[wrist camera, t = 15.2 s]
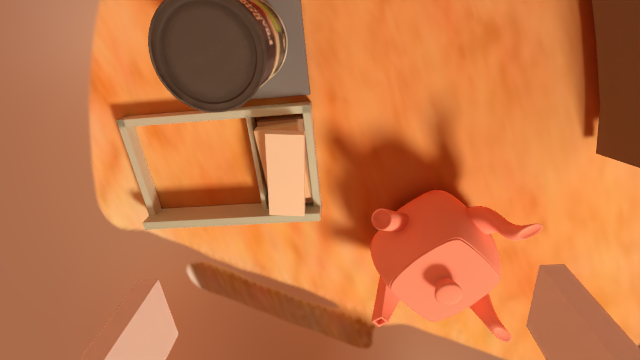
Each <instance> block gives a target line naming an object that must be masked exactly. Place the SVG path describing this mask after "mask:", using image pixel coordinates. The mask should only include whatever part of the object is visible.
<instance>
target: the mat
mask: <svg viewBox="0 0 640 360" xmlns="http://www.w3.org/2000/svg"><path fill="white" fill-rule="evenodd" d="M263 1H265V2H266V3H268V4H269V5H270V6H271V7H272V8H273V9H274V10H275V11H276V12H277V14H278V15H279V16H280V18H281V20H282V22H283V24H284V26H285V29H286V33H287V38H288V49H287V55H286V58H285V61H284V63H283V65H282V67H281V68H280V70H279V71H278V72H277V73H276V74H275V75H274V76H273V77H272V78H270V79H269V80H268V81H267V82H266V83H265V84H264V85H262V86H261V87H260V88H259V89H258V91H257V92H256V93H255V95H254V96H253V97H252V98H251V99H264V98H276V97H288V96H300V95H310V87H309V77H308V67H307V58H306V48H305V38H304V28H303V19H302V9H301V0H263ZM251 99H250V100H251Z"/></svg>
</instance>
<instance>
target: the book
mask: <svg viewBox="0 0 640 360" xmlns="http://www.w3.org/2000/svg"><path fill="white" fill-rule="evenodd" d="M592 7H593V16H594V26H595V36H596V45H597V62H598V80H599V98H600V113H599V125H598V137H597V149H596V153H597V154H600V155H603V156H606V157H609V158H612V159H615V160H618V161H621V162H624V163H627V164H630V165H633V166H636V167H639V168H640V0H592Z"/></svg>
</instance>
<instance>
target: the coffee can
mask: <svg viewBox="0 0 640 360" xmlns="http://www.w3.org/2000/svg"><path fill="white" fill-rule="evenodd" d="M148 46H149V53H150V58H151V61H152V64H153V67H154V69H155V71H156V73H157V75H158V77H159V79H160V80H161V82H162V83H163V85H164V86H165V87H166V88H167V90H168V91H170V93H171V94H172V95H173V96H175V97H176V98H177V99H178V100H180V101H181V102H183V103H184V104H186V105H188V106H190V107H192V108H194V109H197V110H201V111H204V112H213V113H218V112H226V111H230V110H233V109H236V108H238V107H240V106H242V105H243V104H245V103H246V102H248V101H249V100H250V99H251V98H252V97H253V96H254V95H255V93H256V92H257V91H258V89H259V88H260V87H261V86H262V85H264V84H265V83H266V82H267V81H268V80H269V79H270V78H272V77H273V76H274V75H275V74H276V73H277V72H278V71H279V70H280V68H281V67H282V65H283V63H284V61H285V58H286V55H287V49H288V38H287V33H286V29H285V26H284V24H283V22H282V20H281V18H280V16H279V15H278V14H277V12H276V11H275V10H274V9H273V8H272V7H271V6H270V5H269V4H268V3H266V2H265V1H263V0H164V1H163V2H162V3H161V4H160V6H159V7H158V8H157V10H156V11H155V13H154V16H153V18H152V20H151V24H150V28H149V35H148Z"/></svg>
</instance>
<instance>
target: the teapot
mask: <svg viewBox="0 0 640 360" xmlns="http://www.w3.org/2000/svg"><path fill="white" fill-rule="evenodd" d="M371 222H372V224H373V226H374V227H375V228H376V229H378V231H377V233H376V234H375V236H374V237H373V239H372V242H371V246H370V250H371V256H372V259H373V262H374V265H375V267H376V269H377V271H378V273H379V274H380V279H379V284H378V289H377V295H376V300H375V305H374V311H373V316H372V322H373V323H374V324H375V325H377V326H378V327H380V326H382V325H384V324H386V323H388V322H389V319H390V317H391V315H392V313H393V311H394V310H395V308H396V306H397V304H398V303H399V301H400V300H401V301H402V302H404V303H405V304H406V305H407V306H408V307H410V308H411V309H412V310H413V311H415V312H416V313H417V314H419V315H420V316H422V317H423V318H425V319H426V320H428V321H431V322H435V321H440V320H443V319H446V318H448V317H451V316H453V315H455V314H457V313H459V312H461V311H462V310H464V309H466V308H468V307H470V308H471V309H472V310H473V311H474V312H475V313H476V315H477V316H478V317H479V318H480V319H481V320H482V321H483V322H484V324H485V325H486V326H487V327H488V328H489V329H490V331H491V332H492V333H493V334H494V335H495V336H496V337H497V338H499V339H500V340H502V341H504V342H510V341H511V336H510V334H509V332H508V331H507V330H506V328H505V327H504V326H503V325H502V323H501V322H500V320H499V319H498V317H497V315H496V313H495V310H494V308H493V305H492V302H491V299H490V296H489V294H488V293H489V292H490V291H491V290H492V289H493V288H494V287H495V286H496V285H497V284H498V283H499V281H500V279H501V267H500V258H499V253H498V250H497V247H496V245H495V242H494V240H493V238H492V236H491V234H490V233H493V232H499V233H500V234H501V235H503V236H504V237H506V238H507V239H511V240H524V239H528V238H530V237H532V236H534V235H536V234H537V233H539V232H540V231H541V230H542V229H543V225H541V224H530V225H524V226H520V225H515V224H512V223H510V222H509V221H507V220H506V219H505V218H503V217H502V216H501V215H500V214H498V213H497V212H496V211H494V210H492V209H489V208H487V207H482V206H475V207H470V208H468V207H467V206H465V205H464V204H463V203H462V202H460V201H459V200H458V199H457V198H455V197H454V196H453V195H451V194H450V193H448V192H446V191H442V190H432V191H429V192H426V193H424V194H422V195H420V196H418V197H417V198H415V199H413V200H412V201H410V202H408V203H407V204H405V205H404V206H402V207H401V208H400V209H398V210H397V211H392V210H388V209H384V208H379V209H377V210H375V211H374V212H373V214H372V217H371Z"/></svg>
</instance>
